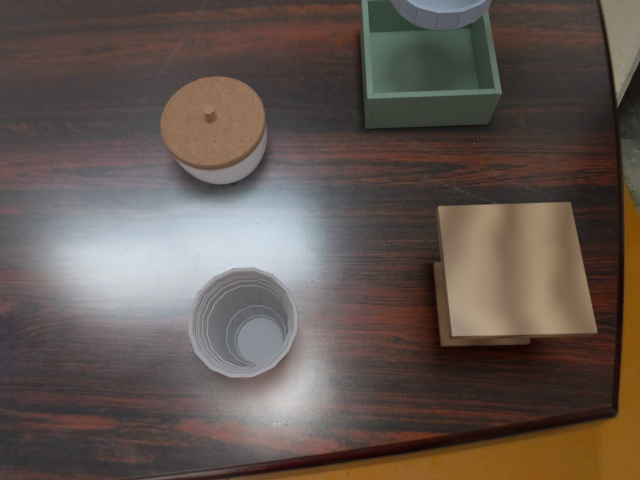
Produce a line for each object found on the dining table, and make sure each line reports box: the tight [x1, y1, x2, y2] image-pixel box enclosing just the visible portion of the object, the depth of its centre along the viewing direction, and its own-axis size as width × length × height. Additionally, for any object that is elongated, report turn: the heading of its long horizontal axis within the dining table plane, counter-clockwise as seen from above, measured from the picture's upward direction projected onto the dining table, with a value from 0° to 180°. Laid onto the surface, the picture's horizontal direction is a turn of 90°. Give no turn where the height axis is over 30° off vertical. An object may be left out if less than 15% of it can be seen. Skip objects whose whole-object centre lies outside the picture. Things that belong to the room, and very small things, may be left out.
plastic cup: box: [187, 266, 298, 378], centre depth 57 cm, size 11×11×12 cm
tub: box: [359, 0, 503, 130], centre depth 72 cm, size 17×17×7 cm
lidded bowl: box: [159, 75, 268, 185], centre depth 67 cm, size 13×13×11 cm
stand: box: [432, 201, 598, 348], centre depth 57 cm, size 13×13×14 cm
